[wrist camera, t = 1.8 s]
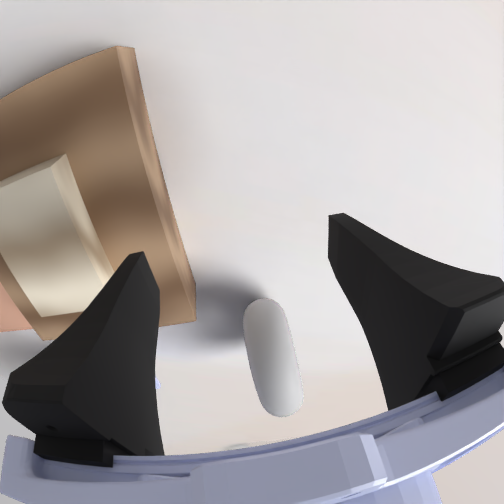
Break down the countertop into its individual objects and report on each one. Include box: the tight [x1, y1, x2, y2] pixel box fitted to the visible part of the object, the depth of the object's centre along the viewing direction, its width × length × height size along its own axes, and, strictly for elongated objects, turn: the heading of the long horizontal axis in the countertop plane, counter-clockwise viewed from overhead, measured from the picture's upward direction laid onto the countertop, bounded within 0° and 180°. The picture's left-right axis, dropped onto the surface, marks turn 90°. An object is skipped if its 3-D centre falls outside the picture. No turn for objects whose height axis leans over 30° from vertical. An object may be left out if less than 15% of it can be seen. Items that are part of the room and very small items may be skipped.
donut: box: [243, 298, 304, 417], centre depth 24 cm, size 10×4×10 cm, turn 11°
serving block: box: [0, 46, 196, 341], centre depth 17 cm, size 18×14×4 cm
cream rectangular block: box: [0, 153, 114, 317], centre depth 15 cm, size 9×6×2 cm, turn 7°
